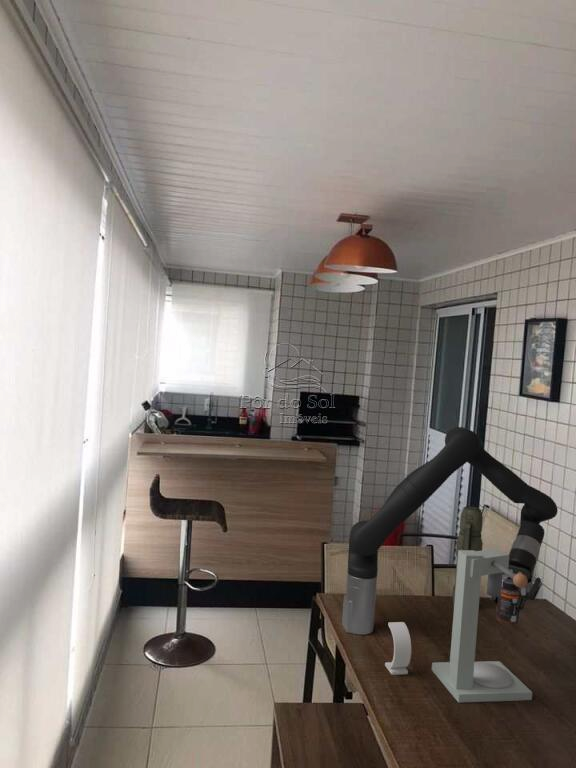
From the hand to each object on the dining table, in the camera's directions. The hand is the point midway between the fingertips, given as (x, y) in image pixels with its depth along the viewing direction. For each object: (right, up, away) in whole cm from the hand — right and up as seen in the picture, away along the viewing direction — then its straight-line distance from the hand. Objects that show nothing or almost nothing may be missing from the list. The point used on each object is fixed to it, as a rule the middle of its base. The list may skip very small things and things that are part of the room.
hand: (506, 605), depth 166 cm
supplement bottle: (+1, -5, +1) cm, 5 cm away
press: (-9, -18, -13) cm, 24 cm away
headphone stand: (-31, -16, -4) cm, 35 cm away
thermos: (+2, -17, +47) cm, 50 cm away
